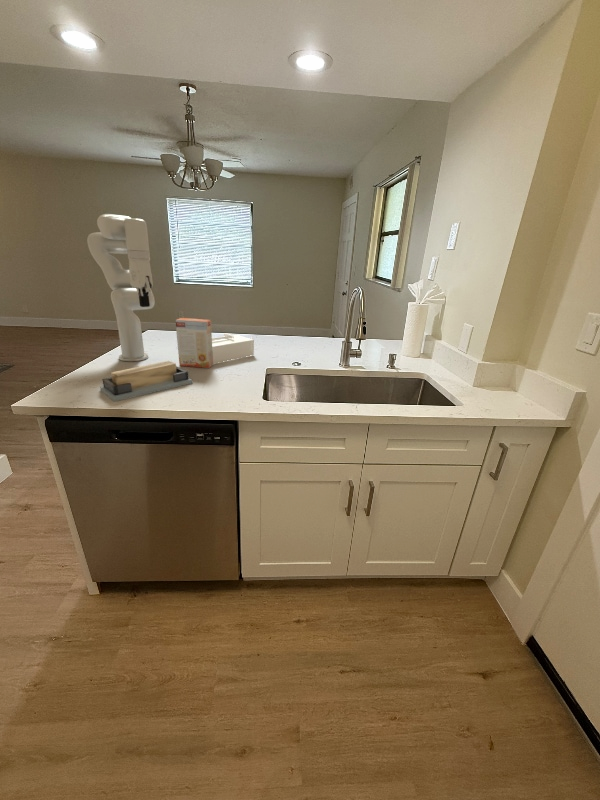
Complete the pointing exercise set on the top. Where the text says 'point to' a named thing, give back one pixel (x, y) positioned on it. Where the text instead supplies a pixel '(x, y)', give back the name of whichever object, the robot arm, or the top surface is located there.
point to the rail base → (126, 390)
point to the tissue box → (231, 347)
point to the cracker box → (194, 342)
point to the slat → (145, 374)
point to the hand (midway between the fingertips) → (144, 306)
